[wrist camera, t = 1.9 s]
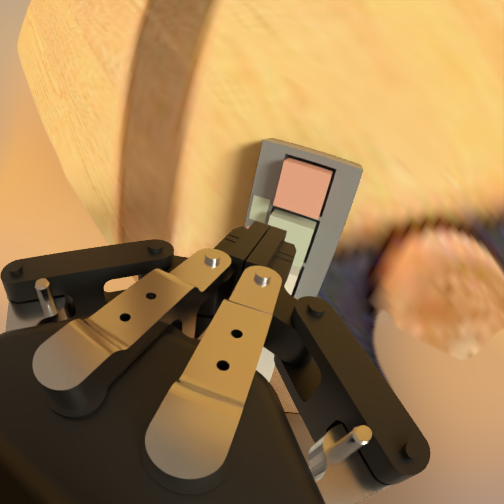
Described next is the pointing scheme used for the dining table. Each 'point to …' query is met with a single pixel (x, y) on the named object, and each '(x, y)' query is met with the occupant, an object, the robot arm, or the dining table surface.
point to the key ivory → (292, 279)
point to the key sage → (294, 232)
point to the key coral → (302, 188)
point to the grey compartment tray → (327, 224)
